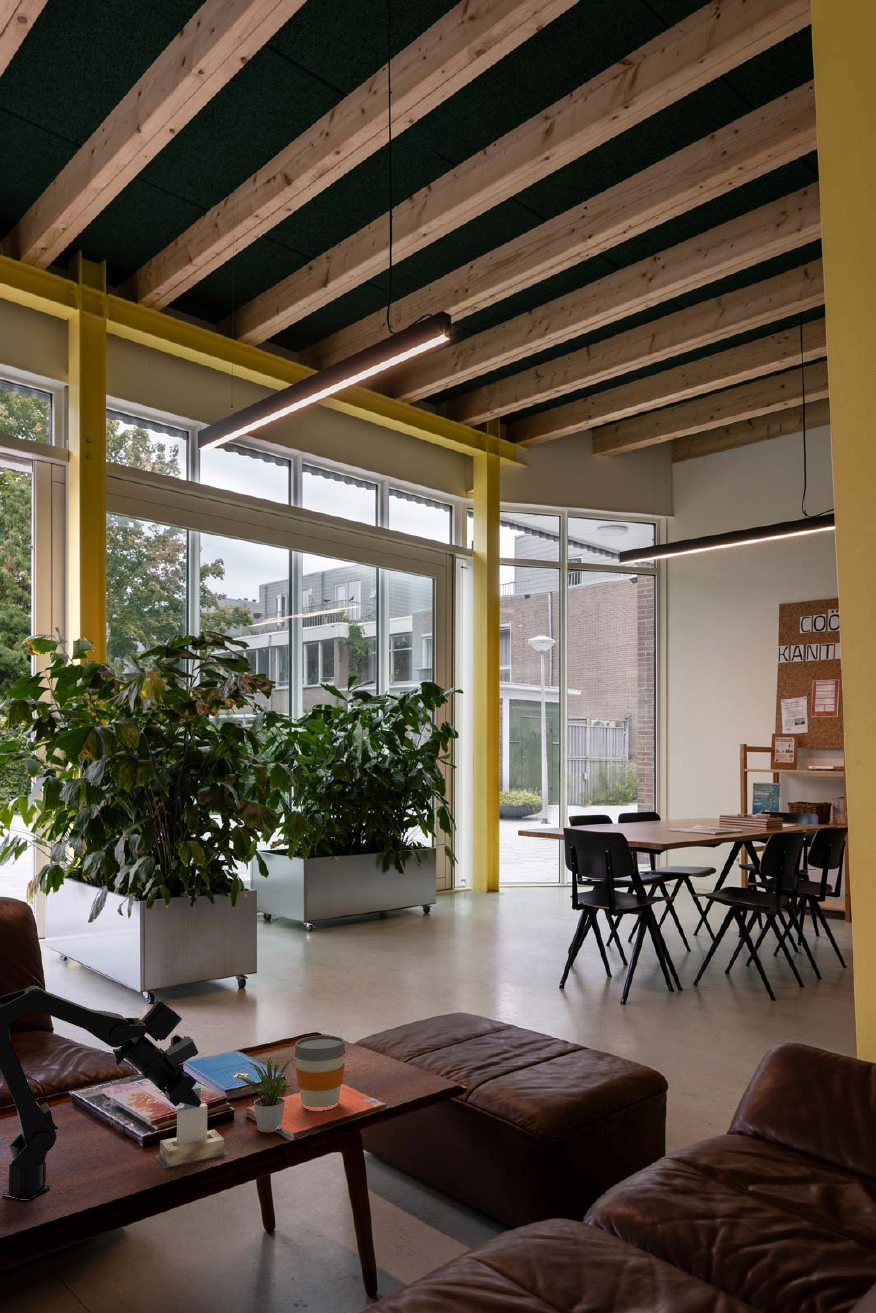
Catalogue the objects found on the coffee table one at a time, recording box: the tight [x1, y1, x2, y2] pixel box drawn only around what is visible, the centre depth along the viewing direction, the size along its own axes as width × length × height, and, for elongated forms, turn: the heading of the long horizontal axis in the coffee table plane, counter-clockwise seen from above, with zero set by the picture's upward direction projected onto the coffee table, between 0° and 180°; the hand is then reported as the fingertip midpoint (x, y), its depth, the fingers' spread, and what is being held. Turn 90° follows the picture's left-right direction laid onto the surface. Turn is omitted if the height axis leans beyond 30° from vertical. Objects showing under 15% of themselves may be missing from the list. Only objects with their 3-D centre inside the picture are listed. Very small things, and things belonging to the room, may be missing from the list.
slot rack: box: [159, 1129, 225, 1168], centre depth 208 cm, size 12×7×3 cm, turn 120°
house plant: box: [236, 1053, 300, 1133], centre depth 225 cm, size 14×14×16 cm
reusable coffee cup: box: [294, 1035, 346, 1107], centre depth 239 cm, size 13×13×15 cm
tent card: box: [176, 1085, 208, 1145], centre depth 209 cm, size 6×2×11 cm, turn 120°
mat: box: [154, 1147, 230, 1170], centre depth 208 cm, size 14×8×1 cm, turn 120°
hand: (198, 1103), depth 210 cm, fingers closed on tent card, 2 cm apart
